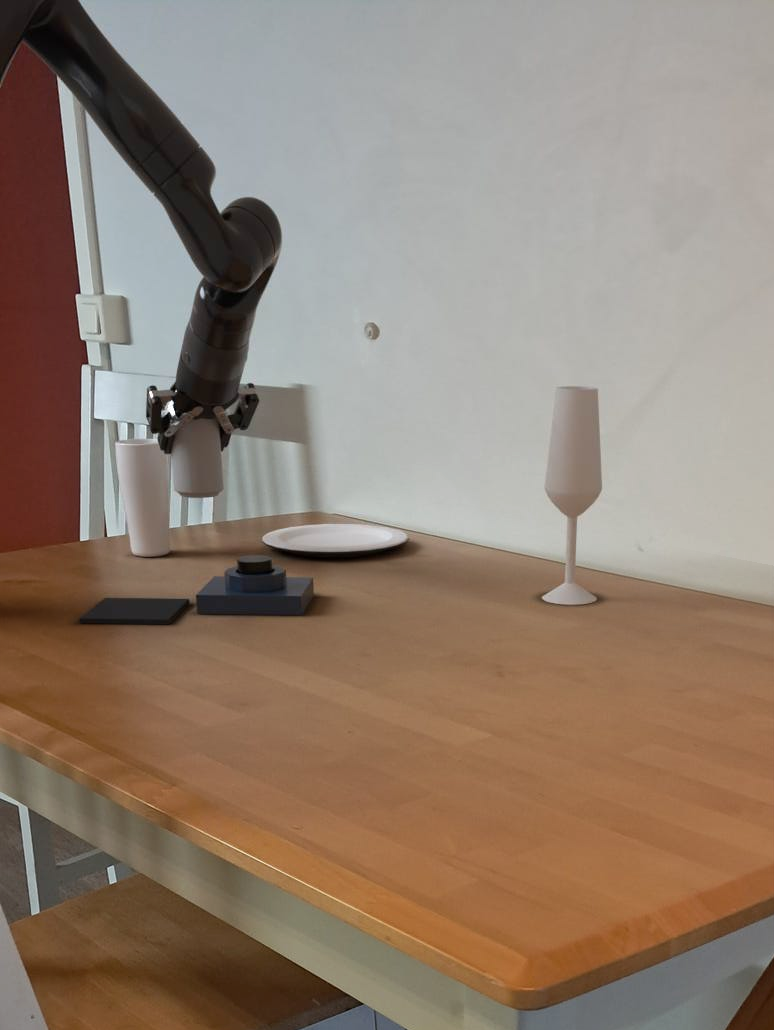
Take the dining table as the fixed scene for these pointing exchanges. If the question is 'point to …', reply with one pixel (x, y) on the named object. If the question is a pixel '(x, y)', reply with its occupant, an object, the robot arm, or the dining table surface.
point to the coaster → (135, 611)
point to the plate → (335, 540)
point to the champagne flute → (573, 474)
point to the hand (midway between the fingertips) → (191, 447)
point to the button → (254, 565)
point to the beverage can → (197, 459)
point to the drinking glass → (144, 495)
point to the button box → (255, 594)
